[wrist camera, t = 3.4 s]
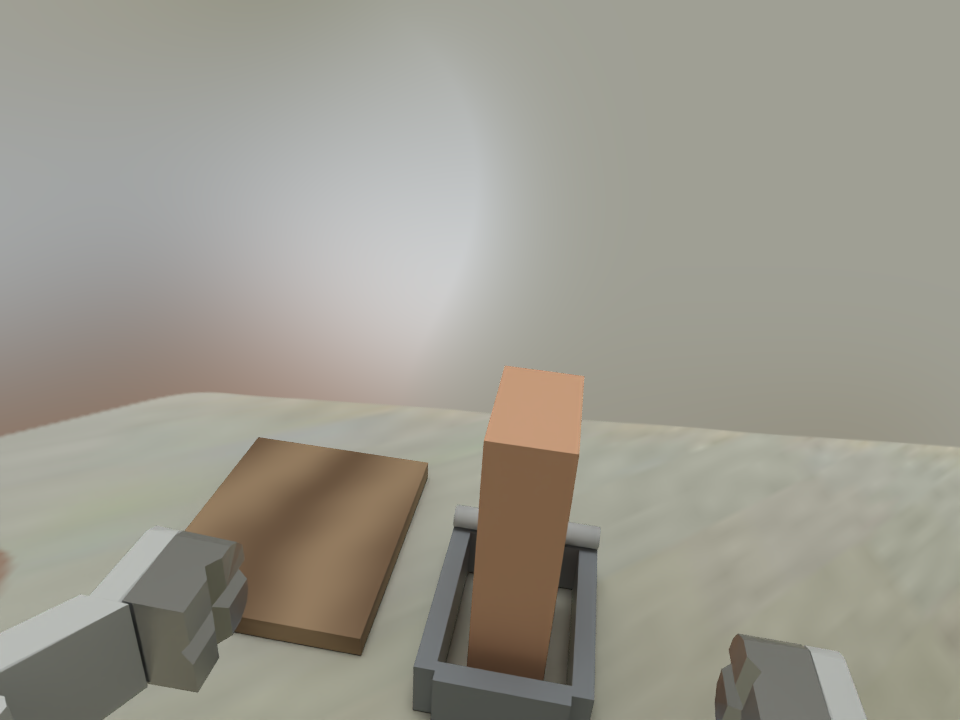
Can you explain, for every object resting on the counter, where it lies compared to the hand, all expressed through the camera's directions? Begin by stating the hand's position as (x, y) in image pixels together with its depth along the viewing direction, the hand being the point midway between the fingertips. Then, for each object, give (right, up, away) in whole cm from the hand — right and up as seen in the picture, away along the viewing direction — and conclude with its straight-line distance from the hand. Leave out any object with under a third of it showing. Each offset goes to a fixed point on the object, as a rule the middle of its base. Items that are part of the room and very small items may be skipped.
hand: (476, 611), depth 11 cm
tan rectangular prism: (+1, -8, +18) cm, 20 cm away
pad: (-9, -5, +23) cm, 25 cm away
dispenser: (+1, -8, +18) cm, 20 cm away
